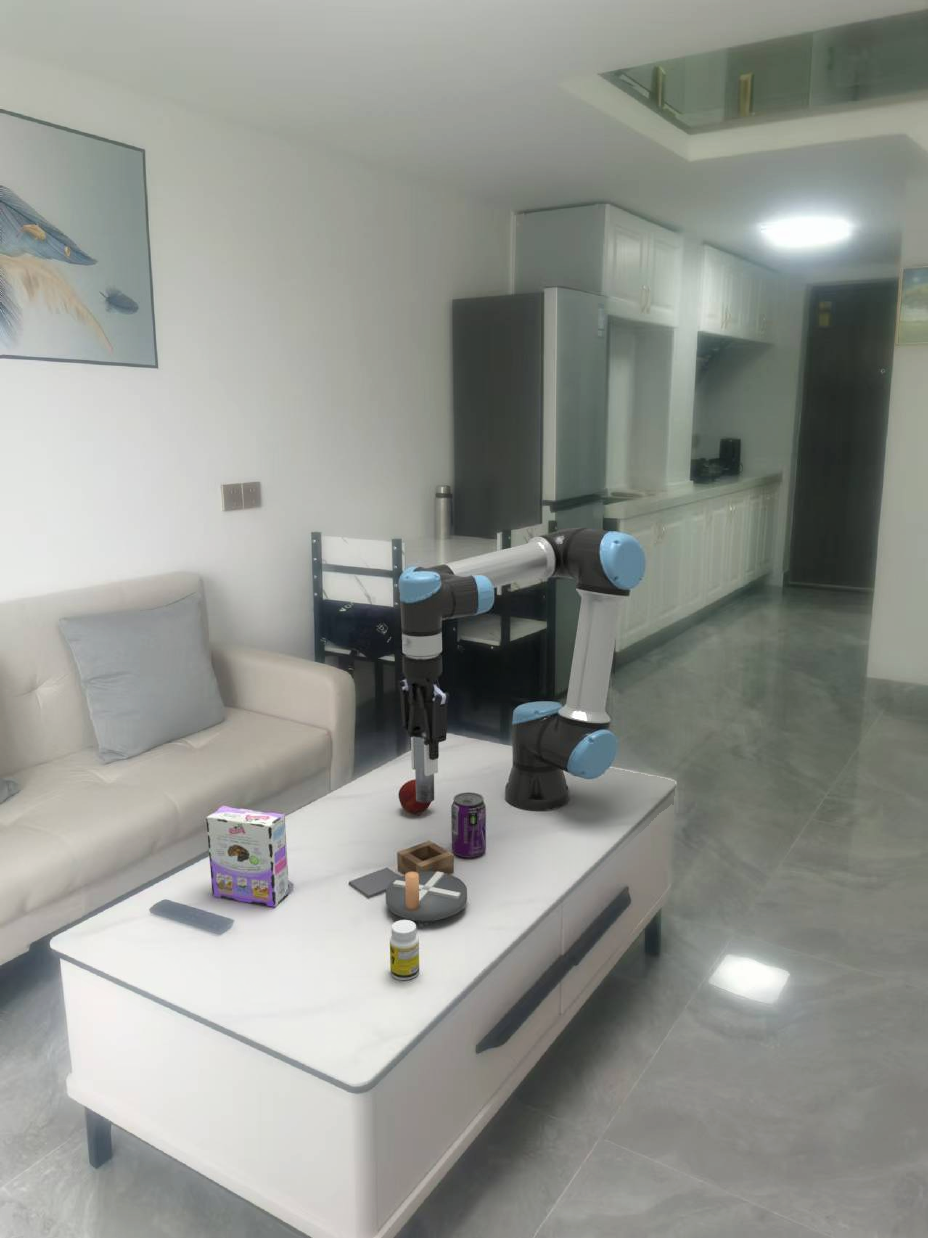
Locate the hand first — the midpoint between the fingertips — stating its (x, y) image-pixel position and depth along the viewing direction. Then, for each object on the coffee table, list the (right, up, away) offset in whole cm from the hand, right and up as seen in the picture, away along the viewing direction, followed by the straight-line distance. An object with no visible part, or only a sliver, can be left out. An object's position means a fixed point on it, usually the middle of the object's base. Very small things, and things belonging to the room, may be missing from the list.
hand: (424, 770), depth 180 cm
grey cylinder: (0, -6, +1) cm, 6 cm away
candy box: (-33, -23, -4) cm, 40 cm away
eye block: (0, -21, +4) cm, 21 cm away
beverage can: (+9, -19, +13) cm, 25 cm away
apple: (-4, -15, +32) cm, 36 cm away
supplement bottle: (-2, -29, -29) cm, 40 cm away
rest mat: (-9, -22, 0) cm, 24 cm away
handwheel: (+1, -22, -9) cm, 24 cm away
